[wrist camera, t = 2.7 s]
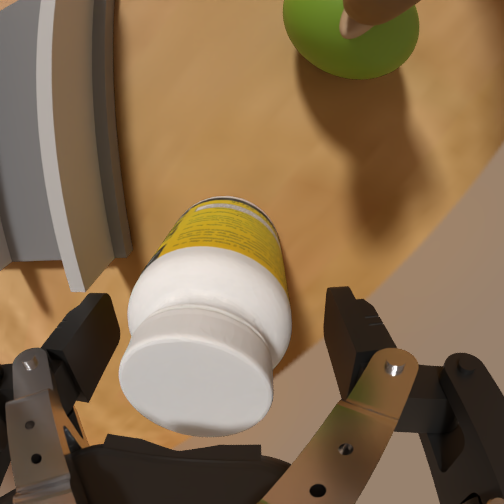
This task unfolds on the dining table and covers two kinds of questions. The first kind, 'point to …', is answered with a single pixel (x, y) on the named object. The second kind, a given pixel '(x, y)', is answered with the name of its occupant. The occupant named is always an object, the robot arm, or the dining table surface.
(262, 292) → the supplement bottle
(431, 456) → the robot arm
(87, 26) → the gray divided storage rack
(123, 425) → the dining table surface
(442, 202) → the dining table surface
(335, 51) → the snail figurine
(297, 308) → the dining table surface
